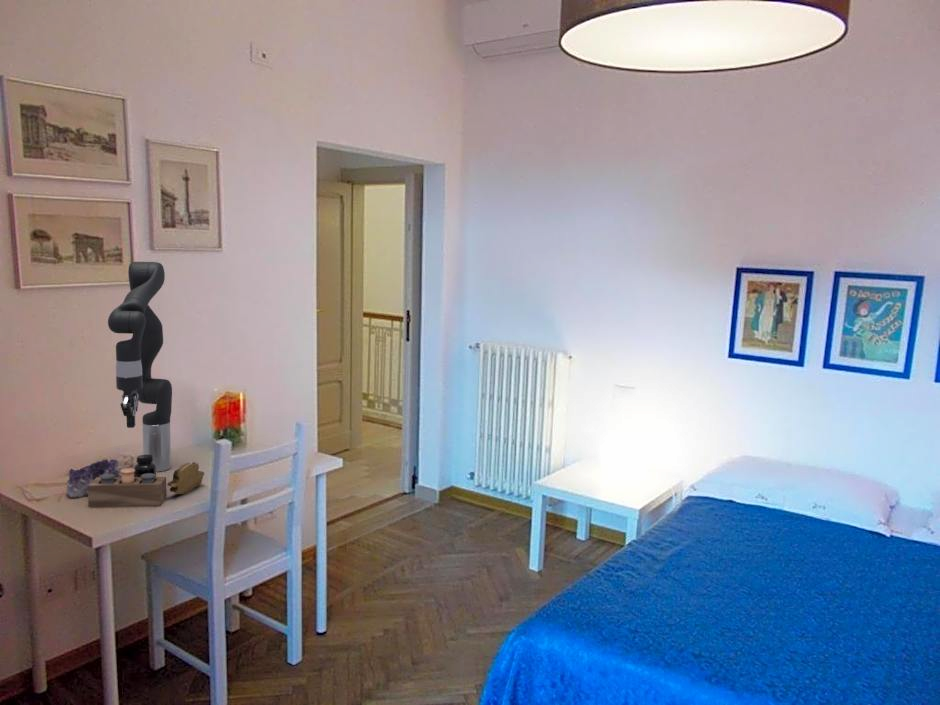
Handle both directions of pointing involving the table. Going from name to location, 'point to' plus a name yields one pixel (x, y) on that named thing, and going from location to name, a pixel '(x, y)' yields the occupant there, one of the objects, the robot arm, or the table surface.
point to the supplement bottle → (144, 465)
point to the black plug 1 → (107, 478)
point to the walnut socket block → (127, 493)
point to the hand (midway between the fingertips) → (131, 427)
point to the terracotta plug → (127, 475)
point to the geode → (89, 477)
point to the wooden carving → (186, 478)
